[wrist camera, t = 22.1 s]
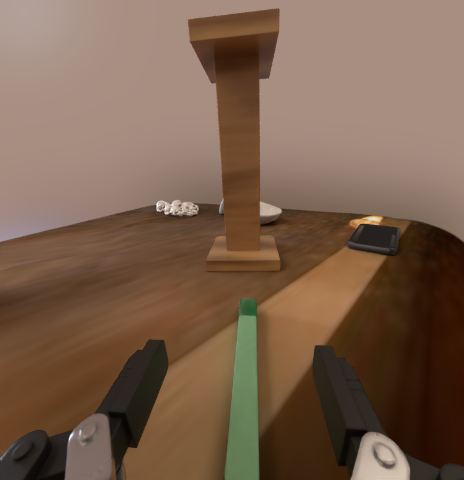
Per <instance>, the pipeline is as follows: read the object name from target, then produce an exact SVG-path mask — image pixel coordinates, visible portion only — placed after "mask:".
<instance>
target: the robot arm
mask: <svg viewBox="0 0 464 480" xmlns="http://www.w3.org/2000/svg"><path fill="white" fill-rule="evenodd" d="M167 369H168V357H167V352H166V347H165V342H164V340H148V342H147V343H146V345H145V347H144V348H143V350H137V351H136V352H135V353H134V354H133V355H132V356H131V357H130V358H129V359H128V361H127V363H126V364H125V366H124V367H123V370H122V371H121V372H120V374H119V376H118V378H117V379H116V380H115V382H114V384H113V385H112V387H111V389H110V390H109V392H108V393H107V395H106V397H105V398H104V400H103V402H102V403H101V405H100V406H99V408H98V410H97V411H96V413H95V414H94V415H91V416H89V417H88V418H86V419H85V420H83V421H82V422H81V423H80V424H79V425H78V426H77V427H76V428H75V429H74V430H71V431H68V432H65V433H61V434H58V435H55V436H51V437H48V435H47V433H46V432H45V431H43V430H36V431H32V432H30V433H28V434H26V435H24V436H23V437H21V438H20V439H18V440H17V441H16V442H15V443H14V444H13V445H12V446H11V447H10V448H9V449H8V450H7V451H6V452H5V453H4V455H3V456H2V457H1V458H0V480H126V473H125V465H124V455H125V453H126V451H127V448H128V447H132V448H137V446H138V443H139V441H140V438H141V436H142V433H143V431H144V428H145V426H146V423H147V421H148V418H149V416H150V413H151V411H152V408H153V406H154V403H155V401H156V398H157V396H158V393H159V391H160V388H161V386H162V383H163V381H164V378H165V376H166V373H167ZM312 370H313V378H314V382H315V386H316V389H317V393H318V396H319V400H320V403H321V407H322V410H323V414H324V417H325V421H326V424H327V428H328V431H329V435H330V438H331V442H332V445H333V449H334V452H335V456H336V459H337V463H338V466H347V468H348V472H349V475H350V478H351V480H464V467H462V466H460V465H457V464H452V463H448V464H445V465H443V467H442V468H441V469H439V468H436V467H434V466H431V465H429V464H427V463H424V462H422V461H420V460H417V459H415V458H413V457H411V456H409V455H407V454H406V453H404V452H403V451H402V450H401V449H400V448H399V447H398V446H397V445H396V444H395V443H394V442H393V441H392V440H391V439H389V437H388V436H387V434H386V433H385V431H384V429H383V427H382V425H381V423H380V421H379V419H378V417H377V415H376V413H375V411H374V409H373V407H372V405H371V403H370V401H369V399H368V397H367V395H366V393H365V391H364V389H363V387H362V385H361V382H359V378H358V376H357V374H356V372H355V370H354V368H353V367H352V366H351V365H350V364H349V363H348V362H347V361H346V360H345V358H337V357H336V354H335V352H334V350H333V348H332V346H321V345H316V346H315V349H314V358H313V367H312Z"/></svg>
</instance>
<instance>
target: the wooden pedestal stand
mask: <svg viewBox="0 0 464 480" xmlns="http://www.w3.org/2000/svg"><path fill="white" fill-rule="evenodd" d="M188 27H189V37H190V43H191V44H192V47H193V48H194V50H195V52H196V54H197V56H198V58H199V60H200V62H201V64H202V66H203V68H204V70H205V72H206V74H207V76H208V77H209V79H210V81H211V83H216V93H217V109H218V124H219V139H220V154H221V170H222V186H223V201H224V217H225V232H226V236H219V237H217V238H216V240H215V242H214V244H213V247H212V249H211V251H210V253H209V255H208V258H207V260H206V266H207V271H280V258H279V254H278V251H277V247H276V244H275V240H274V237H273V235H269V236H260V135H259V134H260V131H259V129H260V128H259V127H260V126H259V79H266V78H269V76H270V71H271V67H272V62H273V57H274V53H275V48H276V43H277V38H278V34H279V9H270V10H262V11H254V12H245V13H237V14H229V15H221V16H213V17H205V18H196V19H189V20H188Z"/></svg>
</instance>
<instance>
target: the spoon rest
mask: <svg viewBox="0 0 464 480" xmlns="http://www.w3.org/2000/svg"><path fill="white" fill-rule="evenodd" d="M219 213H220V214H222V213H224V201H222V202H221V205H220V210H219ZM281 213H282V210H281V209H279V208H277V207H275V206H272V205H269V204H266V203H263V202H260V225H261V224H267V223H270V222H272V221H274V220H276V219H277V218H278V217H279V216H280V215H281Z"/></svg>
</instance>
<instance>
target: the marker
mask: <svg viewBox="0 0 464 480" xmlns="http://www.w3.org/2000/svg"><path fill="white" fill-rule="evenodd" d="M224 480H259V432H258V377H257V300H256V299H240V308H239V323H238V334H237V345H236V356H235V366H234V377H233V388H232V399H231V410H230V420H229V431H228V442H227V453H226V464H225V474H224Z"/></svg>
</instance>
